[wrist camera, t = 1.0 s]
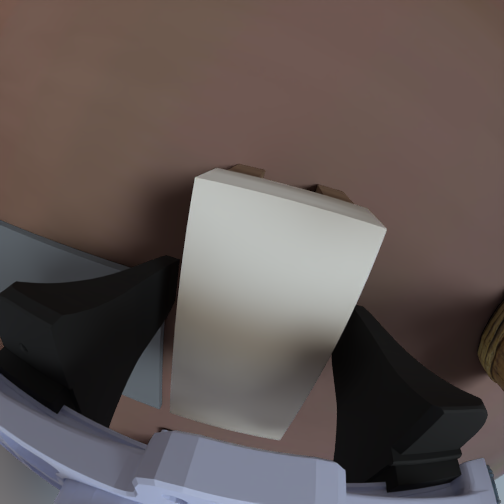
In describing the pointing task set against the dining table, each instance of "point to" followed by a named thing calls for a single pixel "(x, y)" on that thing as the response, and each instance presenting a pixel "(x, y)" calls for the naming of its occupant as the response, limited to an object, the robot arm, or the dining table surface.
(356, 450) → the robot arm
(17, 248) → the mat
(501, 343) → the wooden mug
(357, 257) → the cream block with tabs
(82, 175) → the dining table surface
